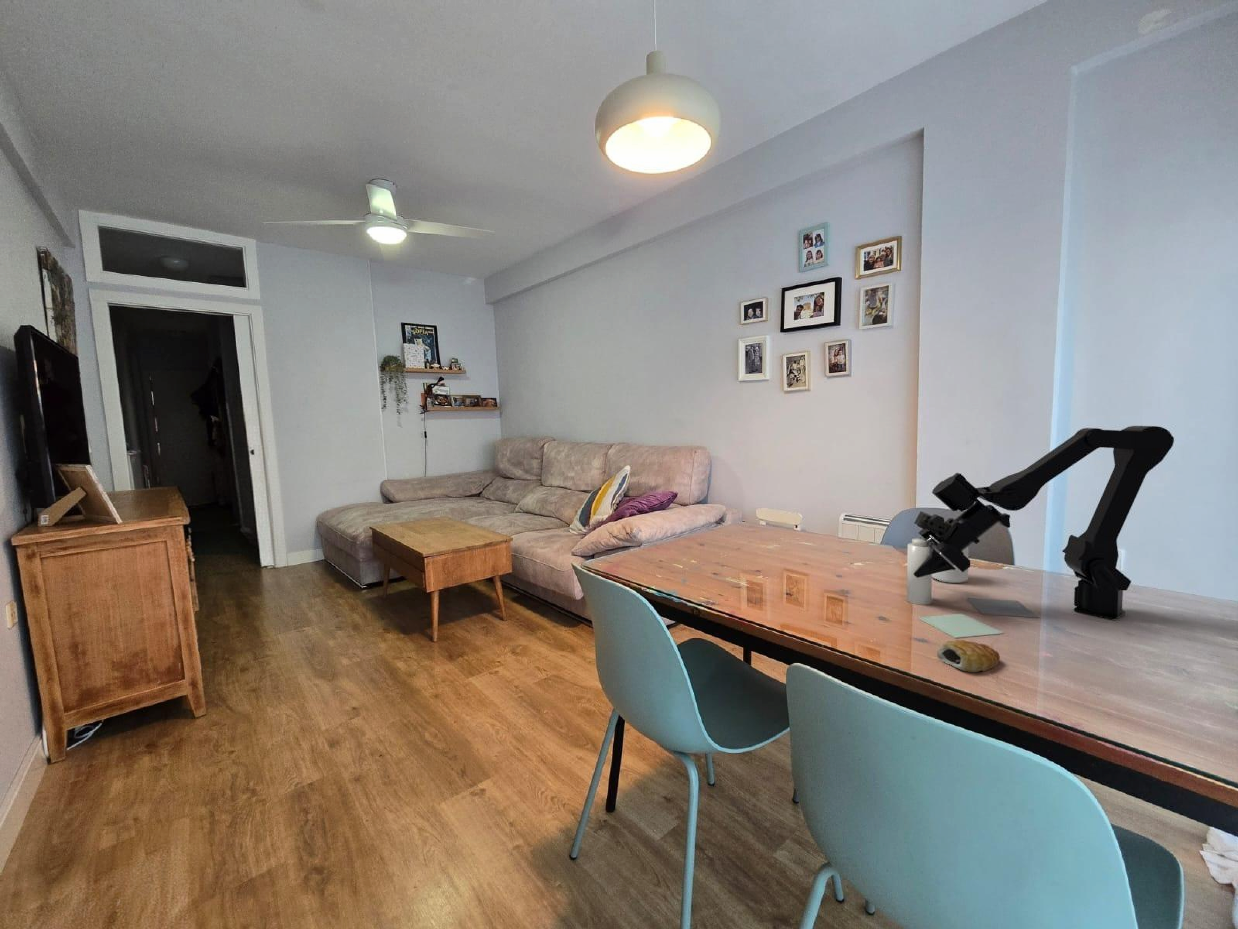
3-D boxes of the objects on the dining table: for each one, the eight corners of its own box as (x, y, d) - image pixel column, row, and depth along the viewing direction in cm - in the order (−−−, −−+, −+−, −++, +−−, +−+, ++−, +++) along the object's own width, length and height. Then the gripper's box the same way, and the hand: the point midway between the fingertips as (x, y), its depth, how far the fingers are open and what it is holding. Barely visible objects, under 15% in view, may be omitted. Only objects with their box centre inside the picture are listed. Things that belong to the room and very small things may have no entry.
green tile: (961, 614, 107) (961, 613, 107) (1002, 633, 97) (1002, 632, 97) (918, 618, 106) (918, 617, 106) (955, 638, 96) (955, 637, 96)
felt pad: (1017, 601, 113) (1017, 600, 113) (1038, 618, 104) (1038, 617, 104) (965, 598, 116) (965, 597, 116) (981, 614, 107) (981, 613, 107)
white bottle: (935, 601, 115) (936, 540, 114) (924, 606, 112) (925, 543, 111) (914, 596, 119) (914, 536, 118) (902, 600, 117) (903, 539, 115)
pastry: (975, 651, 91) (975, 630, 91) (1012, 668, 85) (1013, 646, 84) (932, 659, 89) (933, 638, 89) (968, 677, 82) (968, 655, 82)
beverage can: (923, 577, 132) (923, 532, 131) (943, 572, 135) (943, 528, 134) (954, 586, 125) (955, 538, 124) (975, 581, 128) (975, 534, 127)
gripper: (928, 494, 122) (877, 538, 126) (953, 507, 104) (892, 557, 108) (966, 527, 120) (913, 570, 124) (997, 546, 102) (934, 596, 106)
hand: (912, 572), depth 116 cm, fingers closed on white bottle, 5 cm apart
